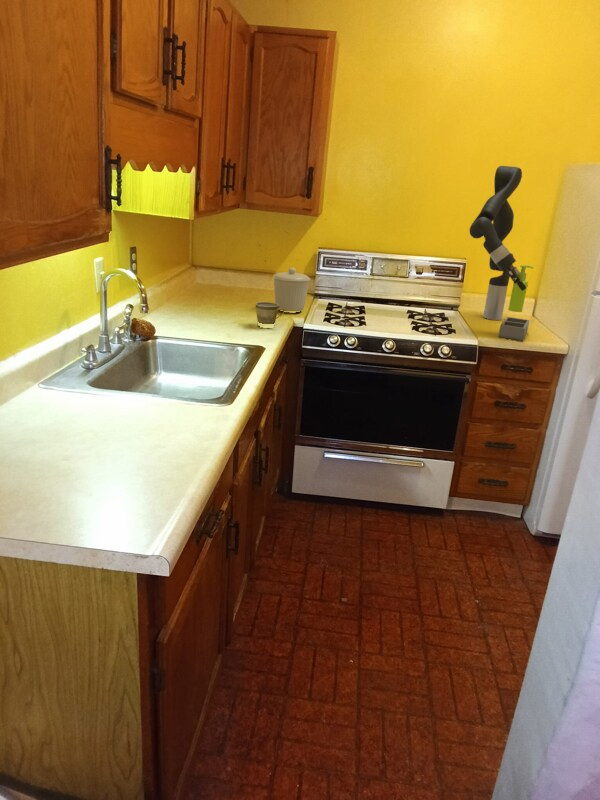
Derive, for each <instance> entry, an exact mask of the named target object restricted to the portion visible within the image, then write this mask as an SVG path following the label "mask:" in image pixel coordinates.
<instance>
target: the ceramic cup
mask: <svg viewBox="0 0 600 800" xmlns="http://www.w3.org/2000/svg"><path fill="white" fill-rule="evenodd" d="M279 309H282V310H283V312H281V314H279V315H278V312H279V311H278V310H279ZM255 312H256V318H257V319H256V320H257V323H258V322H259V323H262V324H274V323H275V324H276V321H277V319H278V318H280V317H281V316H282V315H284V314H285V313H284V309H283V308H279V304H277V303H275V302H272V301H258V302H255ZM277 315H278V316H277Z"/></svg>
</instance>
